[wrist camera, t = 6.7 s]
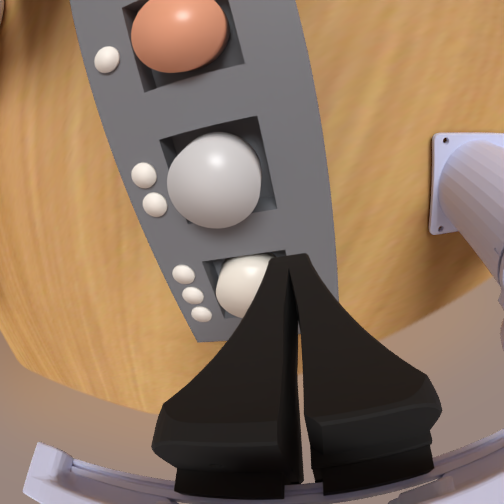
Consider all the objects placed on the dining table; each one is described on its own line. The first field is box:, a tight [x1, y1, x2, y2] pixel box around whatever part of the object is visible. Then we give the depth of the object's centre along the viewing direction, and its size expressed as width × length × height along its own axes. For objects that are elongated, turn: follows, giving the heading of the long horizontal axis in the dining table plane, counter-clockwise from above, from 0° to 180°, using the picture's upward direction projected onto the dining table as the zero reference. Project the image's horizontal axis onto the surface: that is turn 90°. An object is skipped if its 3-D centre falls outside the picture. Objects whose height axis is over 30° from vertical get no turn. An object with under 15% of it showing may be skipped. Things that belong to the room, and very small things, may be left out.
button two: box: [167, 132, 262, 228], centre depth 16 cm, size 5×5×2 cm
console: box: [70, 0, 339, 342], centre depth 18 cm, size 12×28×3 cm, turn 12°
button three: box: [216, 252, 276, 318], centre depth 22 cm, size 5×5×2 cm
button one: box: [131, 0, 230, 73], centre depth 12 cm, size 5×5×2 cm
